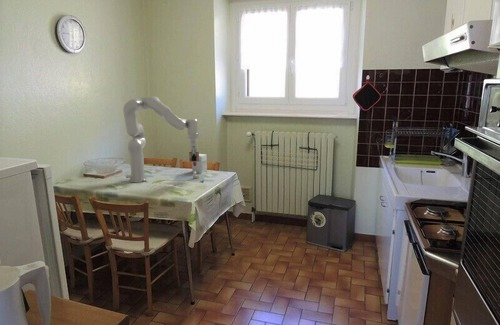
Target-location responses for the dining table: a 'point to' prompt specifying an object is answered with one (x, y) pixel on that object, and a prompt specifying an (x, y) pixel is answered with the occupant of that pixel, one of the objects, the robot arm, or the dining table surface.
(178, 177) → the post board
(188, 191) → the dining table surface
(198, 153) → the collar
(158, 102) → the robot arm
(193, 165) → the supplement box
